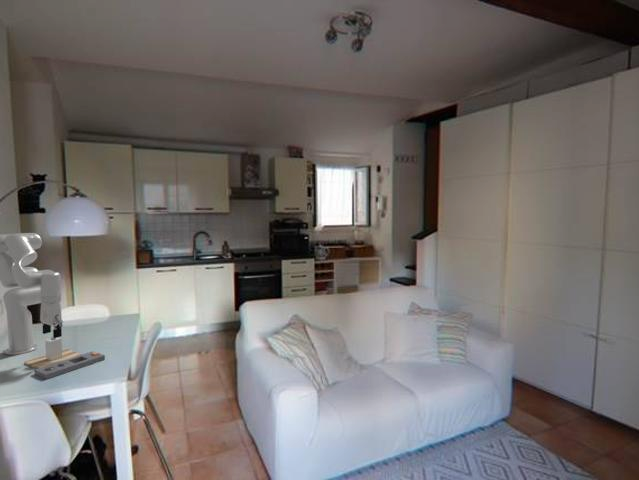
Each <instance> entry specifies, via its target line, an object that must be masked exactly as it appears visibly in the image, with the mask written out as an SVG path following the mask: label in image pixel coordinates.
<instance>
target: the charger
mask: <svg viewBox="0 0 639 480" xmlns="http://www.w3.org/2000/svg"><path fill="white" fill-rule="evenodd" d="M44 342H45V345H44V346H45V356H46V359H48V360H51V361H52V360H55V359H59V358H62V351H63V345H62V338H61V337H57V338H53V336H52V337H50V338H47V339H45V340H44Z"/></svg>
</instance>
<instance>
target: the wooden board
mask: <svg viewBox="0 0 639 480" xmlns="http://www.w3.org/2000/svg"><path fill="white" fill-rule="evenodd" d="M79 355H83V353H79V352H77V351H74V350H71V349H68V348H67V349H64V350H63V349H62V358H59V359H55V360H52V361H51V360H48V359H46V355H44V356H43V355H42V356H40V357H36V358H33V359H29V360H27V361H24V365H27V366H29V367H32V368H33V369H38V368H41V367H44V366H47V365H50V364H54V363H57V362H60V361H63V360H66V359H70V358H73V357H76V356H79Z"/></svg>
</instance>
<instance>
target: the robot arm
mask: <svg viewBox="0 0 639 480" xmlns="http://www.w3.org/2000/svg"><path fill="white" fill-rule="evenodd" d="M42 245H43V240H42V237H41V235H39V234H38V233H36V232H20V233H18V232H17V233H8V234H7V233H6V234H5V233H4V234H2V233H1V234H0V283H1V285H2V287H4V288H6V289H8V288H9V290H6V291H5V292H4V294H3V297H2V298H3V299H2V301H3V303H4V307H5V311H6V312H5V313H6V322H7V323H6V324H7V337H8V348H6V349H5V350H4V354H5V355H8V356H15V355H16V356H17V355H23V354H27V353H30V352H32V351H35V350H37V349H38V344H35V343H34V333H33V317H32V312H31V311H30V310H29V309H27V307H28V306H33V305H38V304H40V314H39V315H40V317H39V319H40V320H39V321H40V322H41V325H42V334H43V335H45V334H49V333H51V332H52V337H53V338H57V337H58V338H61V337H62V336H63V333H62V332H63V331H62V328H63V322H64V321H63V318H62V307H61V302H62V286H61V285H62V282H61V281H62V279H61V277H62V276H61V274H60V272H56V271H53V270H52V269H43V270H42V269H41V270H39V269H37V268H36V267H33V266H29V265H30V264H32V263H34V262H35V261H36V260H37V258H38V253H37V252H36V250H38V249H40V248H41V247H42ZM7 252H10V254H9V253H7ZM11 288H12V289H11ZM52 327H53V330H52Z"/></svg>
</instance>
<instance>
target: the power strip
mask: <svg viewBox="0 0 639 480" xmlns="http://www.w3.org/2000/svg"><path fill="white" fill-rule="evenodd" d="M105 359H106V354H102V353H100V352H98V351H89V352H86V353H82V355H79V356H76V357H73V358H70V359H66V360H63V361H60V362H57V363H54V364H50V365H47V366H44V367H41V368H38V369H36V368H33V369H34V375H36V376H38V377H40V378H43V379H44V380H49V379H51V378H54V377H58V376H61V375H63V374H66V373H69V372H71V371H72V372H73V371H74V370H77V369H81V368H84V367H86V366H87V367H88V366H89V365H93V364H96V363H98V362H101V361H104V360H105Z"/></svg>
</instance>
